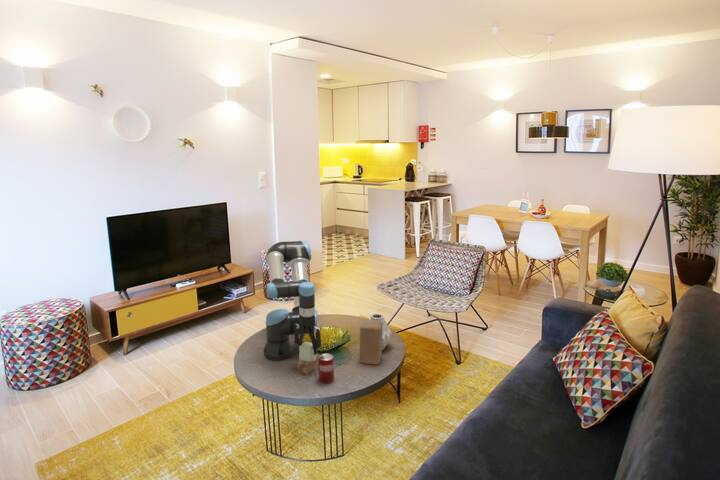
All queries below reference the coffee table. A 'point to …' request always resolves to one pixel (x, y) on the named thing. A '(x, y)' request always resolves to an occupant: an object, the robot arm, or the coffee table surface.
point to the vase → (385, 329)
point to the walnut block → (307, 366)
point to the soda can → (326, 368)
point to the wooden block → (370, 342)
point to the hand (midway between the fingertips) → (307, 358)
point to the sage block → (305, 351)
